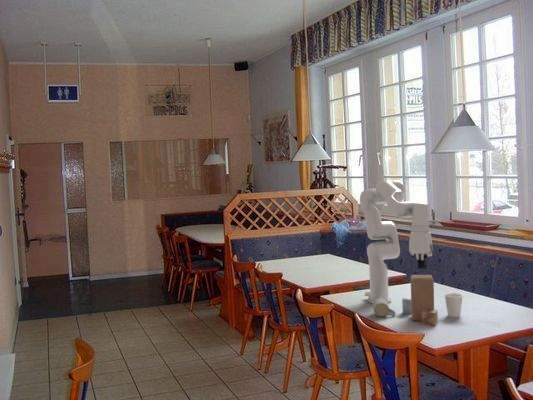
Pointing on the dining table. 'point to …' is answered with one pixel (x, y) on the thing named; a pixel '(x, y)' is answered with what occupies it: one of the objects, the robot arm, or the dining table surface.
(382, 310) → the ceramic mug
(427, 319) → the walnut cube
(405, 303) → the bluegrey post
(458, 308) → the dixie cup
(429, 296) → the block
